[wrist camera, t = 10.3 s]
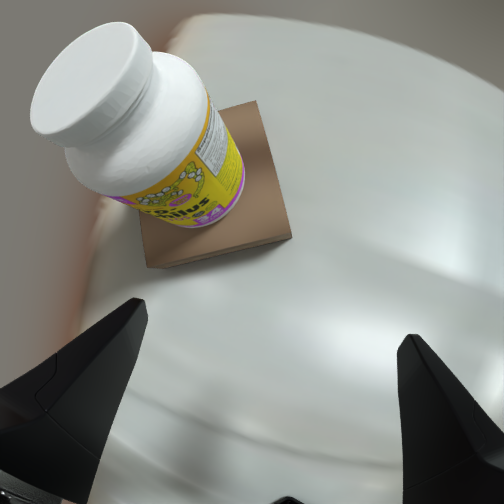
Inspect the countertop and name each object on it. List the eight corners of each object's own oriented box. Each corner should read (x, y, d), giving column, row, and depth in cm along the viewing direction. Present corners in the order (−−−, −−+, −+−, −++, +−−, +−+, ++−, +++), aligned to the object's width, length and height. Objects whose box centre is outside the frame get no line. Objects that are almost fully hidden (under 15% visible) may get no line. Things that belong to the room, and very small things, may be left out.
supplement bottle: (148, 225, 20) (-7, 172, 7) (166, 138, 20) (54, 33, 7) (240, 235, 19) (123, 157, 6) (254, 139, 19) (191, -14, 6)
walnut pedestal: (292, 237, 20) (291, 232, 18) (162, 268, 22) (147, 267, 19) (260, 117, 22) (255, 100, 19) (147, 153, 23) (132, 142, 21)
